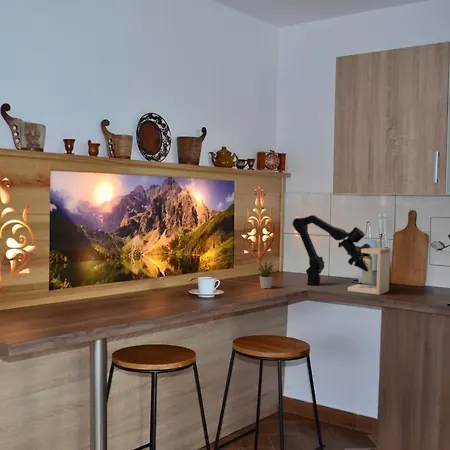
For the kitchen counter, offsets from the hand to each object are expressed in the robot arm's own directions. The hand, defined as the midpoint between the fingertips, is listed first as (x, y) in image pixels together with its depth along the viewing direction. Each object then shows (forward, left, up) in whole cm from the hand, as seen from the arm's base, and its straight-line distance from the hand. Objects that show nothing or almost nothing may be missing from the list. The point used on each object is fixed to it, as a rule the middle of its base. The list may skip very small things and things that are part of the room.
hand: (369, 270), depth 350 cm
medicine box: (-1, +23, -11) cm, 26 cm away
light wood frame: (-1, 0, -11) cm, 11 cm away
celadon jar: (-1, 0, -7) cm, 7 cm away
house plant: (-52, -13, -11) cm, 55 cm away
